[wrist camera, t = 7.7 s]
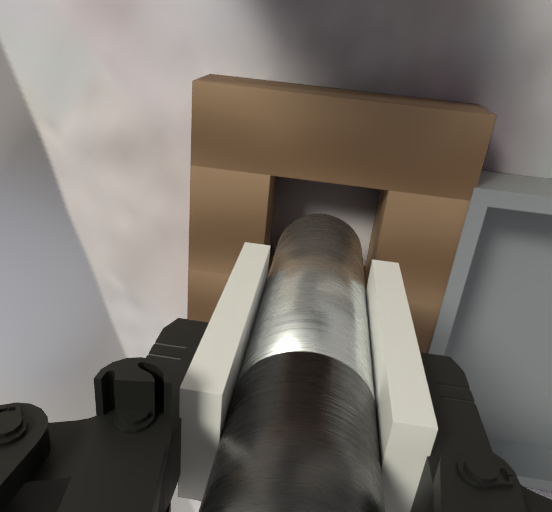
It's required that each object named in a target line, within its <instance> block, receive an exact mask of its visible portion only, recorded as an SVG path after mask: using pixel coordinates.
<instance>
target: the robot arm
mask: <svg viewBox="0 0 552 512" xmlns="http://www.w3.org/2000/svg"><path fill="white" fill-rule="evenodd" d="M270 247H271V246H270V245H263V244H255V243H248V242H245V243H244V246H243V248H242V250H241V252H240V255H239V257H238V259H237V261H236V263H235V266H234V268H233V270H232V272H231V275H230V277H229V279H228V281H227V284H226V286H225V288H224V290H223V293H222V295H221V297H220V299H219V301H218V304H217V306H216V308H215V310H214V313H213V315H212V317H211V319H210V322H202V321H195V320H188V319H181V318H178V319H176V320H175V321H173V322H172V323H170V324H169V325H168V326H166V327H165V328H163V330H162V332H161V333H160V335H159V337H158V338H157V340H156V342H155V344H154V345H153V347H152V348H151V350H150V352H149V355H147V357H146V358H142V357H139V358H126V359H122V360H119V361H116V362H112V363H111V364H109V365H108V366H106V367H104V368H103V369H101V370H100V372H99V373H98V374H97V375H96V377H95V378H94V386H95V387H94V388H95V401H96V414H97V416H95V417H92V418H89V419H83V420H77V421H66V422H55V423H48V418H47V416H46V414H45V413H44V411H43V410H42V409H41V408H39V407H36V406H34V405H32V404H27V403H11V404H5V405H0V512H171V499H172V496H173V493H174V491H175V488H176V485H177V482H178V497H182V498H188V499H194V500H199V501H202V499H203V495H204V492H205V489H206V485H207V482H208V478H209V475H210V472H211V468H212V465H213V461H214V458H215V455H216V451H217V448H218V445H219V442H220V438H221V435H222V432H223V428H224V425H225V421H226V418H227V415H228V411H229V408H230V404H231V401H232V398H233V394H234V391H235V387H236V384H237V380H238V377H239V374H240V370H241V367H242V363H243V360H244V357H245V353H246V350H247V346H248V343H249V340H250V336H251V333H252V329H253V326H254V323H255V319H256V316H257V312H258V309H259V306H260V302H261V299H262V295H263V292H264V289H265V285H266V282H267V277H268V267H269V257H270ZM366 303H367V315H368V326H369V337H370V348H371V359H372V371H373V382H374V393H375V404H376V415H377V427H378V438H379V449H380V460H381V471H382V483H383V494H384V505H385V512H552V500H551V499H548V498H546V497H544V496H541V495H539V494H537V493H535V492H533V491H531V490H529V489H527V488H525V487H524V486H522V485H521V484H520V482H519V480H518V478H517V475H516V473H515V471H514V470H513V469H512V468H511V467H510V466H509V465H508V464H507V462H506V461H505V460H504V459H502V458H501V457H499V456H498V455H496V454H495V453H493V452H492V449H491V446H490V443H489V440H488V437H487V435H486V432H485V429H484V426H483V423H482V420H481V418H480V415H479V412H478V409H477V406H476V404H474V398H473V395H472V392H471V391H470V387H469V384H468V381H467V378H466V375H465V372H464V371H463V370H462V369H461V368H460V367H459V365H458V364H457V363H456V362H455V361H454V360H453V359H452V358H451V357H449V356H442V355H435V354H429V353H422V352H420V350H419V346H418V342H417V338H416V334H415V329H414V325H413V321H412V317H411V313H410V309H409V304H408V300H407V296H406V292H405V288H404V283H403V279H402V275H401V271H400V267H399V263H395V262H388V261H380V260H373V259H372V263H371V268H370V273H369V278H368V283H367V288H366Z"/></svg>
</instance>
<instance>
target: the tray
mask: <svg viewBox="0 0 552 512" xmlns="http://www.w3.org/2000/svg"><path fill="white" fill-rule="evenodd" d="M428 353H429V354H435V355H442V356H449V357H451V358H452V359H453V360H454V361H455V362H456V363H457V364H458V365H459V367H460V368H461V369H462V370H463V371H464V372H465V375H466V378H467V381H468V384H469V387H470V391H471V392H472V395H473V398H474V404H476V406H477V409H478V412H479V415H480V418H481V420H482V423H483V426H484V429H485V432H486V435H487V437H488V440H489V443H490V446H491V449H492V452H493V453H495V454H496V455H498V456H499V457H501V458H502V459H504V460H505V461H506V462H507V464H508V465H509V466H510V467H511V468H512V469H513V470H514V471H515V473H516V475H517V478H518V480H519V482H520V484H521V485H522V486H524V487H527V488H533V489H539V490H545V491H551V492H552V179H545V178H537V177H529V176H521V175H513V174H504V173H496V172H488V171H481V174H480V178H479V181H478V185H477V187H474V188H473V192H472V195H471V199H470V203H469V206H468V210H467V214H466V217H465V221H464V225H463V228H462V232H461V235H460V239H459V243H458V246H457V250H456V254H455V257H454V261H453V264H452V268H451V272H450V275H449V279H448V283H447V286H446V290H445V294H444V297H443V301H442V304H441V308H440V312H439V315H438V319H437V323H436V326H435V330H434V333H433V337H432V341H431V344H430V348H429V352H428Z"/></svg>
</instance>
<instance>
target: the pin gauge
mask: <svg viewBox="0 0 552 512" xmlns="http://www.w3.org/2000/svg"><path fill="white" fill-rule="evenodd" d="M199 512H385V505H384V494H383V483H382V471H381V460H380V449H379V438H378V427H377V415H376V404H375V393H374V382H373V371H372V359H371V348H370V337H369V326H368V315H367V303H366V292H365V281H364V270H363V259H362V248H361V244H360V241H359V238H358V236H357V234H356V233H355V231H354V230H353V229H352V228H351V227H350V226H349V225H348V224H347V223H346V222H344V221H343V220H341V219H339V218H337V217H334V216H331V215H327V214H310V215H306V216H303V217H300V218H298V219H296V220H295V221H293V222H292V223H291V224H289V225H288V226H287V227H286V228H285V230H284V231H283V232H282V234H281V236H280V238H279V241H278V244H277V247H276V251H275V254H274V258H273V261H272V264H271V268H270V271H269V275H268V278H267V282H266V285H265V289H264V292H263V295H262V299H261V302H260V306H259V309H258V312H257V316H256V319H255V323H254V326H253V329H252V333H251V336H250V340H249V343H248V346H247V350H246V353H245V357H244V360H243V363H242V367H241V370H240V374H239V377H238V380H237V384H236V387H235V391H234V394H233V398H232V401H231V404H230V408H229V411H228V415H227V418H226V421H225V425H224V428H223V432H222V435H221V438H220V442H219V445H218V448H217V451H216V455H215V458H214V461H213V465H212V468H211V472H210V475H209V478H208V482H207V485H206V489H205V492H204V495H203V499H202V502H201V506H200V509H199Z"/></svg>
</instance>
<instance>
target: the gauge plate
mask: <svg viewBox="0 0 552 512" xmlns="http://www.w3.org/2000/svg"><path fill="white" fill-rule="evenodd" d="M496 117H497V116H496V115H495V114H493V113H491V112H490V111H488V110H486V109H485V108H483V107H481V106H480V105H478V104H470V103H461V102H452V101H443V100H435V99H426V98H417V97H408V96H399V95H391V94H382V93H373V92H364V91H355V90H347V89H338V88H329V87H320V86H311V85H303V84H294V83H285V82H276V81H267V80H259V79H250V78H241V77H232V76H223V75H215V74H209V75H206V76H204V77H201V78H199V79H196V80H193V82H192V129H191V176H190V222H189V269H188V316H187V319H188V320H195V321H202V322H210V319H211V317H212V315H213V313H214V310H215V308H216V306H217V304H218V301H219V299H220V297H221V295H222V293H223V290H224V288H225V286H226V284H227V281H228V279H229V277H230V275H231V272H232V270H233V268H234V266H235V263H236V261H237V259H238V257H239V255H240V252H241V250H242V248H243V246H244V243H245V242H248V243H255V244H263V245H270V240H271V229H272V219H273V209H274V199H275V189H276V178H277V176H279V177H287V178H295V179H302V180H310V181H318V182H326V183H334V184H342V185H350V186H358V187H366V188H374V189H380V193H379V198H378V203H377V208H376V214H375V219H374V224H373V229H372V235H371V240H370V245H369V250H368V255H367V261H366V266H363V270H364V281H365V292H366V288H367V283H368V278H369V273H370V268H371V263H372V259H373V260H380V261H388V262H395V263H399V267H400V271H401V275H402V279H403V283H404V288H405V292H406V296H407V300H408V304H409V309H410V313H411V317H412V321H413V325H414V329H415V334H416V338H417V342H418V346H419V350H420V352H422V353H428V352H429V348H430V344H431V341H432V337H433V333H434V330H435V326H436V323H437V319H438V315H439V312H440V308H441V304H442V301H443V297H444V294H445V290H446V286H447V283H448V279H449V275H450V272H451V268H452V264H453V261H454V257H455V254H456V250H457V246H458V243H459V239H460V235H461V232H462V228H463V225H464V221H465V217H466V214H467V210H468V206H469V203H470V199H471V195H472V192H473V188H474V187H477V185H478V181H479V178H480V174H481V170H482V167H483V163H484V160H485V156H486V152H487V149H488V145H489V142H490V138H491V135H492V131H493V127H494V124H495V120H496ZM273 258H274V253H270V257H269V267H268V275H269V271H270V268H271V264H272V261H273ZM267 278H268V277H267Z"/></svg>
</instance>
